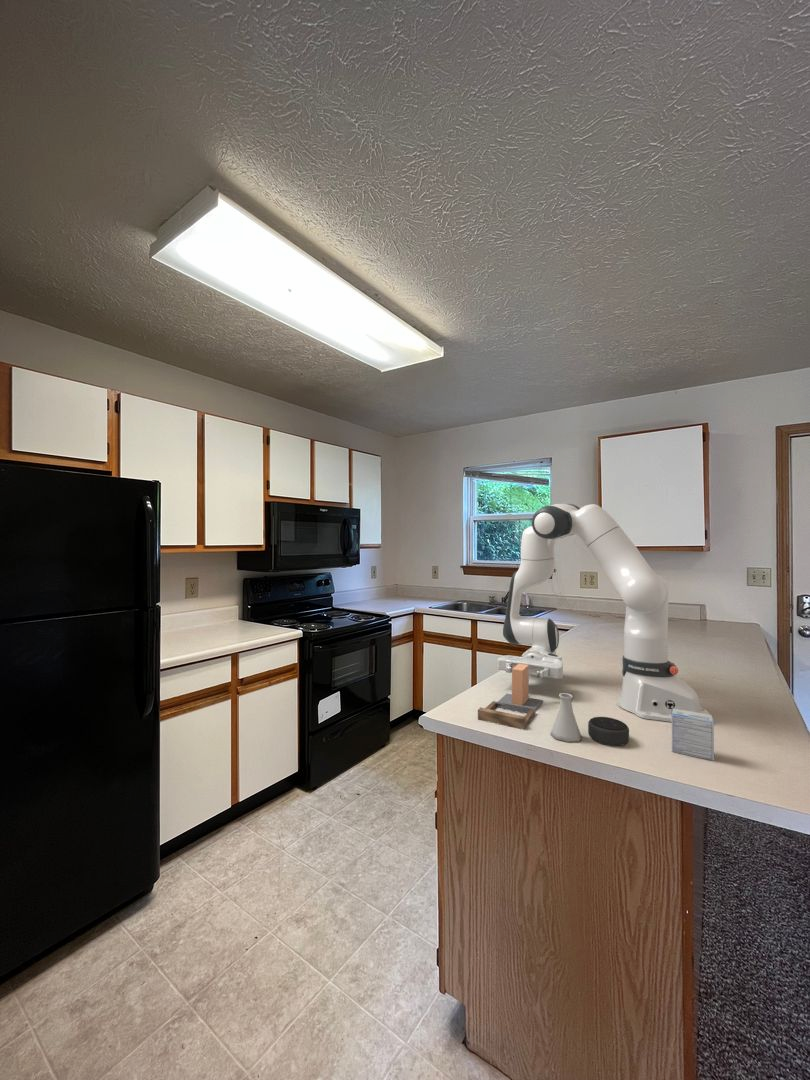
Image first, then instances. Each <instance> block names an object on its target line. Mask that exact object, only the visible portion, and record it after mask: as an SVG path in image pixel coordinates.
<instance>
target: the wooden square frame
mask: <svg viewBox="0 0 810 1080" xmlns="http://www.w3.org/2000/svg"><path fill="white" fill-rule="evenodd" d="M495 707H496V708H497V707H498V709H501V708H502V709H501V710H506V709H507V710H508V711H512V712H516V711H517V713H522V714H525V716H524V715H519V714H513V713H509V712H505V711H500V710H495V709H496V708H495ZM494 708H495V709H494ZM536 714H537V710H536V709H531V708H526V707H521V706H516V705H511V704H505V703H500V702H498V701H494V700H493V701H491V702H490V703H489V704H488V705H487V706H485V708H484V707H479V708H478V709H477V720H479V719H480V721H484V720H485V721H484V722H488V721H489V722H488V723H493V722H494V724H497V723H498V725H502V726H506V725H507V727H510V728H516V729H521V730H525V728H526V727H527V725H528V724H529V723H530V722H531V720H532V719H533V718H534V717H535V715H536Z"/></svg>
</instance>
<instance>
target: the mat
mask: <svg viewBox="0 0 810 1080" xmlns="http://www.w3.org/2000/svg"><path fill="white" fill-rule="evenodd" d="M497 702H500V703H505V704H511V705H516V704H512V693H505V695H503V696H502V697H501V698H500V699H499V700H498V701H497ZM543 702H544V700H543V699H539V698H533V697H529V699H528V700H527V701H526V702H525V703H524V704H523V705H516V706H521V707H526V708H531V709H536V711H537V710H538V708H539V707H540V706H541V704H543Z"/></svg>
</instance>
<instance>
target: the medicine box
mask: <svg viewBox="0 0 810 1080" xmlns="http://www.w3.org/2000/svg"><path fill="white" fill-rule="evenodd" d="M671 718H672V722H671V752H672V753H675V754H676V753H677V754H680V755H687V756H690V757H695V758H701V759H704V760H710V761H715V737H714V736H715V730H714V729H715V726H714V725H715V722H714V717H713V715H712V714H710V715H708V714H702V713H697V712H691V711H685V710H679V709H672V714H671Z"/></svg>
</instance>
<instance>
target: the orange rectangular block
mask: <svg viewBox="0 0 810 1080" xmlns="http://www.w3.org/2000/svg"><path fill="white" fill-rule="evenodd" d="M529 678H530V676H529V665H524V664H518V665H517V666H515V667H514V668H513V669H512V672H511V694H512V704H516V705H523V704H524V703H525V702H526V701H527V700H528V699H529V698H530V696H529V695H530V694H529V690H530V689H529V687H530V686H529V685H530V682H529Z"/></svg>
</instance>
